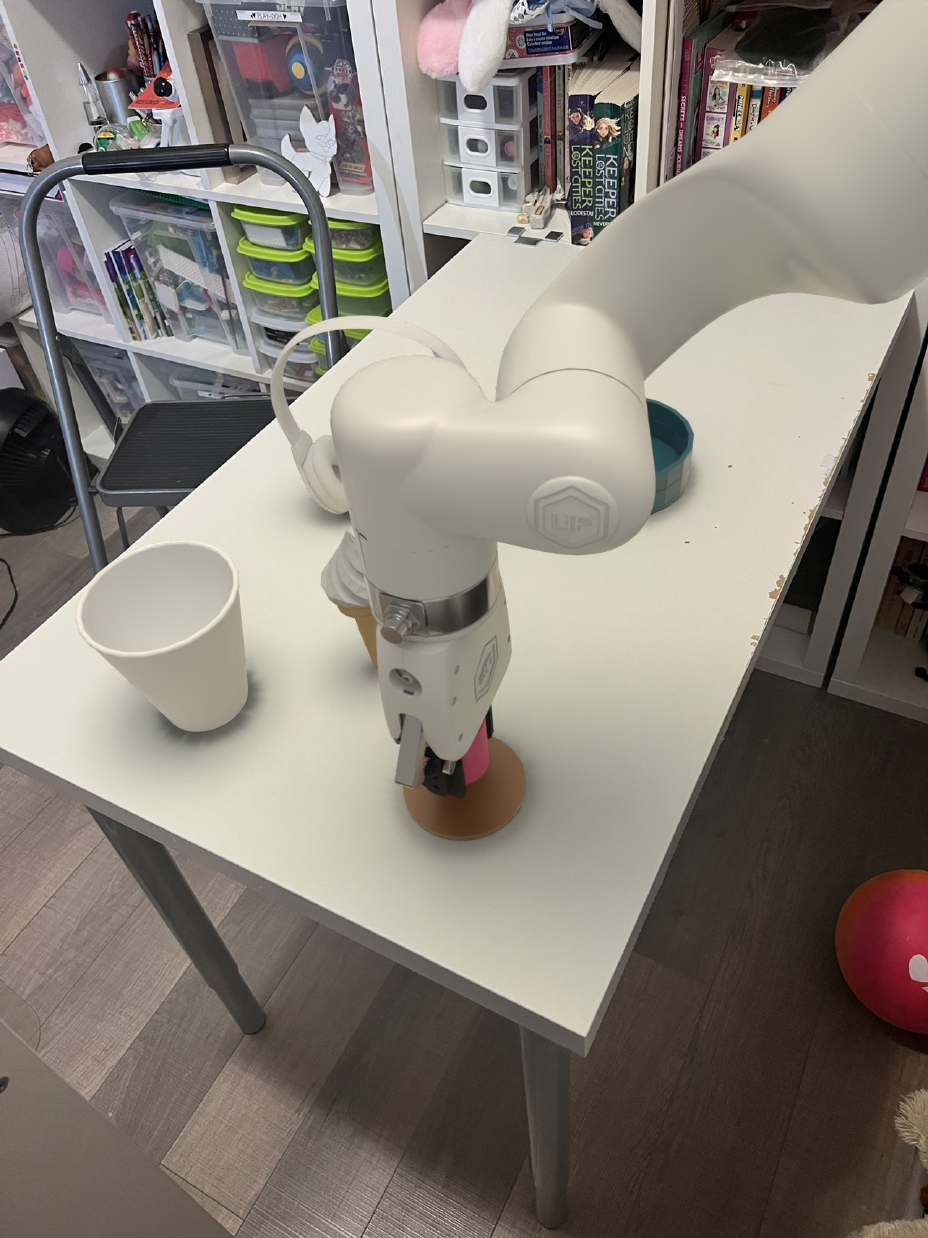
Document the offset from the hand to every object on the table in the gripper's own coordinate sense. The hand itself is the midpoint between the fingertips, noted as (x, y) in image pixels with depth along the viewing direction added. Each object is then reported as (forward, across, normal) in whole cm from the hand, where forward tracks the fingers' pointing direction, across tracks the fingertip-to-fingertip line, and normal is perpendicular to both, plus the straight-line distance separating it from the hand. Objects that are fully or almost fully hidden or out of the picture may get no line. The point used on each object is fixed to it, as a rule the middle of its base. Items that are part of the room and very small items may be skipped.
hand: (458, 758), depth 63 cm
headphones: (+4, +28, +19) cm, 34 cm away
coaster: (+4, 0, 0) cm, 4 cm away
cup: (+4, +1, +23) cm, 24 cm away
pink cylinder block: (0, 0, 0) cm, 0 cm away
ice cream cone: (+4, +8, +11) cm, 15 cm away
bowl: (+4, +39, -1) cm, 39 cm away
